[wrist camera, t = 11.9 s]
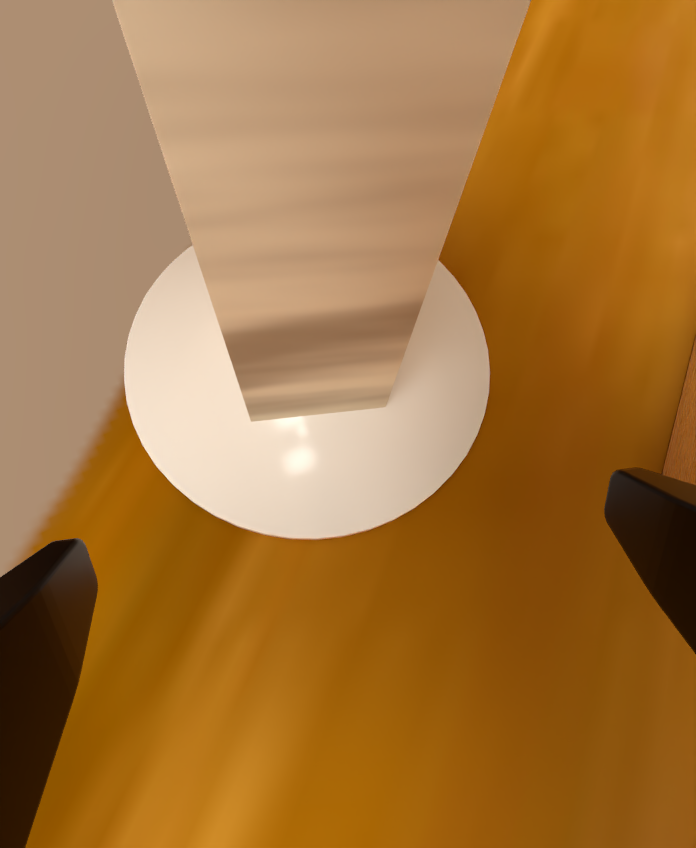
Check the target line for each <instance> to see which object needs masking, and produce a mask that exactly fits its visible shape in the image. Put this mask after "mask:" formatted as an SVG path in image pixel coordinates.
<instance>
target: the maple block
mask: <svg viewBox="0 0 696 848" xmlns="http://www.w3.org/2000/svg"><path fill="white" fill-rule="evenodd" d="M530 1H531V0H112V2H113V5H114V8H115V11H116V14H117V17H118V20H119V23H120V26H121V29H122V32H123V35H124V38H125V41H126V44H127V47H128V50H129V53H130V56H131V59H132V62H133V65H134V69H135V71H136V75H137V78H138V81H139V84H140V87H141V90H142V92H143V96H144V99H145V102H146V105H147V108H148V111H149V114H150V117H151V120H152V123H153V126H154V129H155V132H156V135H157V138H158V141H159V144H160V147H161V150H162V153H163V156H164V159H165V162H166V165H167V168H168V172H169V175H170V178H171V181H172V184H173V187H174V190H175V193H176V196H177V199H178V202H179V205H180V208H181V211H182V214H183V217H184V220H185V223H186V226H187V229H188V232H189V235H190V238H191V241H192V244H193V247H194V250H195V253H196V256H197V259H198V262H199V265H200V268H201V271H202V275H203V278H204V281H205V284H206V287H207V290H208V293H209V296H210V299H211V302H212V305H213V308H214V311H215V314H216V317H217V320H218V323H219V326H220V329H221V332H222V335H223V338H224V341H225V344H226V347H227V350H228V353H229V356H230V359H231V362H232V365H233V368H234V371H235V374H236V378H237V381H238V384H239V387H240V390H241V393H242V396H243V399H244V402H245V405H246V408H247V411H248V414H249V417H250V420H251V422H254V421H263V420H272V419H282V418H291V417H300V416H309V415H319V414H328V413H337V412H346V411H355V410H365V409H374V408H383V407H386V404H387V402H388V399H389V396H390V393H391V390H392V388H393V385H394V382H395V379H396V376H397V374H398V371H399V368H400V365H401V362H402V360H403V357H404V354H405V351H406V348H407V346H408V343H409V340H410V337H411V334H412V332H413V329H414V326H415V323H416V320H417V318H418V315H419V312H420V309H421V306H422V304H423V301H424V298H425V295H426V292H427V290H428V287H429V284H430V281H431V278H432V276H433V273H434V270H435V267H436V264H437V262H438V259H439V256H440V253H441V250H442V248H443V245H444V242H445V239H446V237H447V234H448V231H449V228H450V225H451V223H452V220H453V217H454V214H455V211H456V209H457V206H458V203H459V200H460V197H461V195H462V192H463V189H464V186H465V183H466V181H467V178H468V175H469V172H470V169H471V167H472V164H473V161H474V158H475V155H476V153H477V150H478V147H479V144H480V141H481V139H482V136H483V133H484V130H485V127H486V125H487V122H488V119H489V116H490V113H491V111H492V108H493V105H494V102H495V99H496V97H497V94H498V91H499V88H500V85H501V83H502V80H503V77H504V74H505V71H506V69H507V66H508V63H509V60H510V57H511V55H512V52H513V49H514V46H515V43H516V41H517V38H518V35H519V32H520V29H521V27H522V24H523V21H524V18H525V15H526V13H527V10H528V7H529V4H530Z"/></svg>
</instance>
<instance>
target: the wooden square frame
mask: <svg viewBox="0 0 696 848" xmlns="http://www.w3.org/2000/svg"><path fill="white" fill-rule="evenodd" d="M662 475H665V476H668V477H671V478H675V479H678V480H681V481H684V482H688V483H691V484H694V485H696V338H695V342H694V346H693V350H692V354H691V358H690V362H689V366H688V370H687V374H686V378H685V382H684V386H683V391H682V395H681V399H680V403H679V407H678V411H677V415H676V419H675V423H674V427H673V431H672V435H671V439H670V443H669V448H668V452H667V456H666V460H665V464H664V468H663V472H662Z"/></svg>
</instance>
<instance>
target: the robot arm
mask: <svg viewBox="0 0 696 848" xmlns="http://www.w3.org/2000/svg"><path fill="white" fill-rule="evenodd" d="M604 512H605V518H606V521H607V523H608V525H609V527H610V528H611V530H612V531H613V533H614V535H615V536H616V538H617V540H618V541H619V543H620V545H621V546H622V548H623V550H624V551H625V553H626V554H627V556H628V558H629V559H630V561H631V563H632V564H633V566H634V568H635V569H636V571H637V573H638V574H639V576H640V577H641V579H642V581H643V582H644V584H645V585H646V587H647V589H648V590H649V592H650V593H651V595H652V596H653V598H654V599H655V600H656V602H657V603H658V604H659V606H660V607H661V609H662V610H663V611H664V613H665V614H666V615H667V617H668V618H669V619H670V621H671V622H672V623H673V625H674V626H675V627H676V629H677V630H678V631H679V633H680V634H681V635H682V637H683V638H684V639H685V641H686V642H687V643H688V645H689V646H690V647H691V649H692V650H693V651H694V652H695V654H696V485H694V484H691V483H688V482H684V481H681V480H678V479H675V478H671V477H668V476H665V475H662V474H658V473H655V472H652V471H649V470H645V469H642V468H627V469H620V470H616V471H615V472H613V474H612V475H611V478H610V482H609V487H608V492H607V498H606V503H605V508H604ZM97 591H98V583H97V578H96V574H95V571H94V568H93V565H92V563H91V560H90V557H89V554H88V551H87V548H86V545H85V543H84V542H83V541H82V540H80V539H78V538H75V539H67V540H59V541H54V542H51V543H50V544H48V545H47V546H45V547H44V548H42V549H41V550H39V551H38V552H36V553H35V554H34V555H32V556H31V557H29V558H28V559H26V560H25V561H23V562H22V563H21V564H19V565H18V566H16V567H15V568H13V569H12V570H10V571H9V572H7V573H6V574H5V575H3V576H2V577H0V848H25V847H26V844H27V840H28V837H29V834H30V831H31V828H32V825H33V822H34V819H35V816H36V813H37V810H38V807H39V804H40V801H41V798H42V795H43V791H44V788H45V785H46V782H47V779H48V776H49V773H50V770H51V767H52V764H53V761H54V758H55V755H56V752H57V749H58V745H59V742H60V739H61V736H62V733H63V730H64V727H65V724H66V721H67V718H68V715H69V712H70V709H71V706H72V703H73V699H74V696H75V693H76V689H77V686H78V682H79V678H80V674H81V670H82V665H83V660H84V655H85V650H86V646H87V641H88V636H89V631H90V626H91V621H92V616H93V612H94V607H95V602H96V597H97Z"/></svg>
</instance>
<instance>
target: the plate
mask: <svg viewBox="0 0 696 848" xmlns="http://www.w3.org/2000/svg"><path fill="white" fill-rule="evenodd" d="M489 382H490V366H489V355H488V348H487V344H486V340H485V335H484V331H483V328H482V326H481V323H480V321H479V318H478V315H477V313H476V311H475V309H474V307H473V305H472V303H471V301H470V300H469V298H468V296H467V294H466V293H465V291H464V290H463V288H462V287H461V286H460V284H459V283H458V281H457V280H456V279H455V277H454V276H453V275H452V274H451V273H450V272H449V271H448V270H447V269H446V268H445V266H444V265H443V264H442V263H441V262H440V261H439V260H438V262H437V264H436V267H435V270H434V273H433V276H432V278H431V281H430V284H429V287H428V290H427V292H426V295H425V298H424V301H423V304H422V306H421V309H420V312H419V315H418V318H417V320H416V323H415V326H414V329H413V332H412V334H411V337H410V340H409V343H408V346H407V348H406V351H405V354H404V357H403V360H402V362H401V365H400V368H399V371H398V374H397V376H396V379H395V382H394V385H393V388H392V390H391V393H390V396H389V399H388V402H387V404H386V407H383V408H374V409H365V410H355V411H346V412H337V413H328V414H319V415H309V416H300V417H291V418H282V419H272V420H263V421H254V422H251V420H250V417H249V414H248V411H247V408H246V405H245V402H244V399H243V396H242V393H241V390H240V387H239V384H238V381H237V378H236V374H235V371H234V368H233V365H232V362H231V359H230V356H229V353H228V350H227V347H226V344H225V341H224V338H223V335H222V332H221V329H220V326H219V323H218V320H217V317H216V314H215V311H214V308H213V305H212V302H211V299H210V296H209V293H208V290H207V287H206V284H205V281H204V278H203V275H202V271H201V268H200V265H199V262H198V259H197V256H196V253H195V250H194V247H193V245H192V246H191V247H189V248H188V249H186V250H185V251H184V252H183V253H182V254H181V255H180V256H178V257H177V258H176V259H175V260H174V261H173V262H171V264H170V265H169V266H168V267H167V268H166V269H165V270H164V271H163V273H162V274H161V275H160V276H159V277H158V278H157V279H156V281H155V282H154V284H153V285H152V287H151V288H150V290H149V291H148V293H147V294H146V295H145V297H144V299H143V301H142V303H141V306H140V307H139V309H138V311H137V313H136V315H135V318H134V321H133V324H132V327H131V330H130V333H129V337H128V342H127V347H126V353H125V365H124V383H125V391H126V399H127V404H128V408H129V411H130V415H131V418H132V422H133V425H134V427H135V429H136V432H137V434H138V436H139V438H140V440H141V443H142V445H143V446H144V448H145V450H146V451H147V453H148V454H149V456H150V457H151V459H152V460H153V462H154V463H155V465H156V466H157V467H158V468H159V470H160V471H161V472H162V473H163V474H164V475H165V476H166V478H167V479H168V480H169V481H170V482H171V483H172V484H173V485H174V486H175V487H176V488H177V489H178V490H180V491H181V492H182V493H183V494H184V495H185V496H187V497H188V498H189V499H190V500H191V501H193V502H194V503H195V504H196V505H198V506H199V507H201V508H203V509H204V510H206V511H207V512H209V513H211V514H212V515H214V516H215V517H217V518H219V519H221V520H224V521H226V522H228V523H230V524H232V525H235V526H237V527H239V528H242V529H245V530H249V531H252V532H255V533H259V534H262V535H266V536H272V537H279V538H285V539H294V540H322V539H331V538H340V537H345V536H349V535H353V534H357V533H361V532H365V531H369V530H371V529H374V528H376V527H379V526H381V525H384V524H387V523H389V522H392V521H393V520H395V519H397V518H399V517H400V516H402V515H404V514H406V513H407V512H409V511H411V510H413V509H414V508H415V507H417V506H418V505H419V504H421V503H422V502H423V501H425V500H426V499H427V498H428V497H430V496H431V495H432V494H433V493H434V492H435V491H436V490H437V489H438V488H439V487H440V486H441V485H442V484H443V483H444V482H445V481H446V480H447V479H448V478H449V477H450V476H451V475H452V474H453V473H454V472H455V470H456V469H457V467H458V466H459V465H460V463H461V462H462V461H463V459H464V458H465V457H466V455H467V453H468V451H469V450H470V448H471V446H472V444H473V442H474V440H475V438H476V436H477V434H478V432H479V429H480V426H481V423H482V420H483V418H484V415H485V410H486V405H487V400H488V395H489Z"/></svg>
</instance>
